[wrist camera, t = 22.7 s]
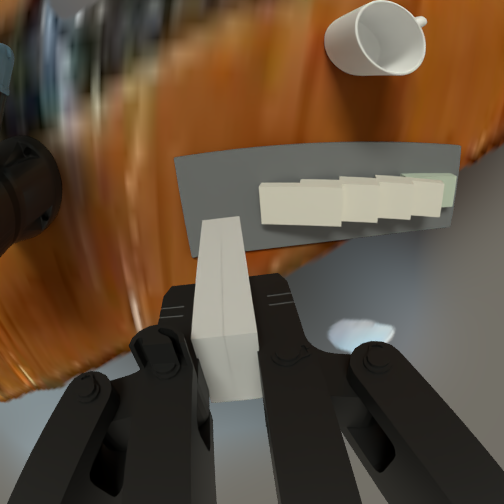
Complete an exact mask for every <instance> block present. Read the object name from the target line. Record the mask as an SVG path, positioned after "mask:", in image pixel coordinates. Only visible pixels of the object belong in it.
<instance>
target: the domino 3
mask: <svg viewBox="0 0 504 504" xmlns="http://www.w3.org/2000/svg"><path fill="white" fill-rule="evenodd" d="M339 180H354V181H374V182H379V184H380V198H379V210H378V218H389V219H405V220H410V219H411V211H412V203H413V195H414V185H415V184H414V183H413V182H412V181H409V180H397V179H382V178H366V177H345V176H339Z"/></svg>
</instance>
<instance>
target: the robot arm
mask: <svg viewBox="0 0 504 504" xmlns="http://www.w3.org/2000/svg"><path fill="white" fill-rule="evenodd" d="M13 65H14V54H13V51H12V50H11V48H10V47H8V46H7V45H5V44H2V43H0V132H1V126H2V120H3V115H4V109H5V105H6V100H7V96H9V92H10V91H9V84H10V79H11V73H12V69H13ZM61 198H62V184H61V178H60V173H59V170H58V167H57V165H56V162H55V160H54V158H53V157H52V155H51V153H50V152H49V151H48V150H47V148H46V147H45V146H44V145H43V144H41V143H40V142H39V141H37V140H36V139H34V138H31V137H28V136H14V137H11V138H8V139H6V140H3V141H1V142H0V257H1V256H2V255H3V254H4V253H5V252H6V250H7V249H8V248H9V247H10V246H11V245H12V244H14V243H17V242H20V241H23V240H26V239H29V238H32V237H35V236H37V235H38V234H40V233H41V232H43V231H44V230H45V229H46V228H47V227H48V226H49V225H50V224H51V223H52V221H53V220H54V219H55V217H56V215H57V213H58V211H59V208H60V204H61ZM161 308H162V310H161V312H160V319H159V322H158V325H153V326H149V327H147V328H145V329H143V330H141V331H139V332H138V333H137V334H136V335H135V336H134V337H133V338H132V340H131V342H130V344H129V348H130V350H131V352H132V354H133V356H134V358H135V360H136V362H137V364H138V366H139V367H140V370H139V371H137V372H136V373H133V374H131V375H129V376H125V377H122V378H118V379H115V380H112V381H110V380H109V379H108V378H107V376H106V375H104V374H102V373H100V372H93V371H90V372H86V373H83V374H81V375H79V376H78V377H76V378H74V380H73V381H72V382H71V383H70V384H69V386H68V387H67V389H66V391H65V392H64V394H63V396H62V397H61V399H60V401H59V403H58V404H57V406H56V408H55V410H54V411H53V413H52V415H51V417H50V419H49V420H48V422H47V424H46V426H45V428H44V429H43V431H42V433H41V435H40V437H39V439H38V441H37V443H36V444H35V446H34V449H33V450H32V452H31V454H30V456H29V458H28V460H27V462H26V464H25V466H24V468H23V470H22V472H21V475H20V477H19V479H18V481H17V483H16V485H15V488H14V490H13V492H12V494H11V496H10V498H9V501H8V503H7V504H217V502H216V486H215V466H214V442H213V419H212V415H211V412H210V409H209V396H210V399H211V402H212V403H216V402H228V401H238V400H248V399H255V398H263V403H264V410H265V420H266V427H267V433H268V439H269V446H270V453H271V459H272V466H273V473H274V479H275V485H276V492H277V498H278V504H362V502H361V498H360V495H359V491H358V488H357V484H356V481H355V477H354V474H353V471H352V467H351V464H350V460H349V457H348V453H347V450H346V447H345V443H344V440H343V437H342V433H343V434H344V436H345V437H346V439H347V441H348V442H349V444H350V445H351V447H352V448H353V450H354V452H355V453H356V455H357V456H358V458H359V459H360V461H361V462H362V464H363V466H364V467H365V469H366V470H367V472H368V473H369V475H370V476H371V478H372V479H373V481H374V482H375V484H376V485H377V487H378V488H379V490H380V491H381V493H382V494H383V496H384V497H385V499H386V500H387V502H388V503H389V504H504V471H503V470H502V469H501V467H500V466H499V465H498V464H497V462H496V461H495V460H494V459H493V457H492V456H491V455H490V454H489V453H488V451H487V450H486V449H485V448H484V447H483V445H482V444H481V443H480V442H479V441H478V439H477V438H476V437H475V436H474V435H473V434H472V432H471V431H470V430H469V429H468V428H467V427H466V425H465V424H464V423H463V422H462V421H461V419H460V418H459V417H458V416H457V415H456V414H455V413H454V411H453V410H452V409H451V408H450V407H449V406H448V405H447V404H446V402H445V401H444V400H443V399H442V398H441V397H440V396H439V394H438V393H437V392H436V391H435V390H434V389H433V388H432V387H431V385H430V384H429V383H428V382H427V381H426V380H425V379H424V378H423V377H422V376H421V374H420V373H419V372H418V371H417V370H416V369H415V368H414V367H413V366H412V365H411V363H410V362H409V361H408V360H407V359H406V358H405V357H404V356H403V355H402V354H401V353H400V352H399V351H398V350H397V349H396V348H395V347H393V346H392V345H390V344H387V343H384V342H378V341H370V342H367V343H363V344H361V345H359V346H358V347H357V348H355V349H354V351H353V352H352V354H351V355H350V354H334V353H328V352H324V351H322V350H319V349H317V348H316V347H314V346H312V345H311V343H309V342H308V340H307V339H306V337H305V335H304V332H303V328H302V325H301V322H300V319H299V316H298V313H297V310H296V306H295V303H294V300H293V297H292V294H291V291H290V288H289V285H288V282H287V281H286V280H285V279H284V278H283V277H282V276H281V275H280V274H279V273H274V274H266V275H258V276H250V277H249V276H248V270H247V263H246V257H245V250H244V244H243V237H242V230H241V224H240V217H239V216H235V217H227V218H219V219H210V220H202V228H201V237H200V246H199V255H198V264H197V274H196V284H189V285H180V286H172V287H171V288H170V289H169V291H168V292H167V293H166V294H165V296H164V298H163V302H162V307H161ZM341 431H342V433H341Z"/></svg>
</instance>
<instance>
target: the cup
mask: <svg viewBox="0 0 504 504" xmlns="http://www.w3.org/2000/svg"><path fill="white" fill-rule="evenodd" d="M426 23H427V20H426V19H425V18H424V17H422V16H419V17H414V16H413V15H412V14H411V13H410V12H409V11H407V10H406V9H405V8H403V7H402V6H400V5H398V4H396V3H393V2H390V1H385V0H377V1H373V2H370V3H368V4H366V5H364V6H362V7H359V8H357V9H355V10H353V11H351V12H349V13H348V14H346V15H344V16H342V17H340V18H338V19H336V20H335V21H334V22H332V23H331V24H330V26H329V27H328V28H327V30H326V33H325V37H324V45H325V50H326V52H327V55H328V57H329V58H330V60H331V61H332V62H333V64H334V65H335V66H336V67H338V68H339V69H340V70H342V71H344V72H346V73H348V74H352V75H356V76H375V75H406V74H409V73H412V72H413V71H415V70H416V69H417V68H418V67H419V66H420V65H421V63H422V61H423V59H424V56H425V50H426V43H425V37H424V34H423V31H422V29H421V27H423V26H425V25H426Z"/></svg>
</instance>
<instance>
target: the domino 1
mask: <svg viewBox="0 0 504 504" xmlns="http://www.w3.org/2000/svg"><path fill="white" fill-rule="evenodd" d="M342 192H343V187H342V184H332V183H261V184H260V185H259V196H260V209H261V222H262V224H279V225H312V226H339V227H341V220H342Z"/></svg>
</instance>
